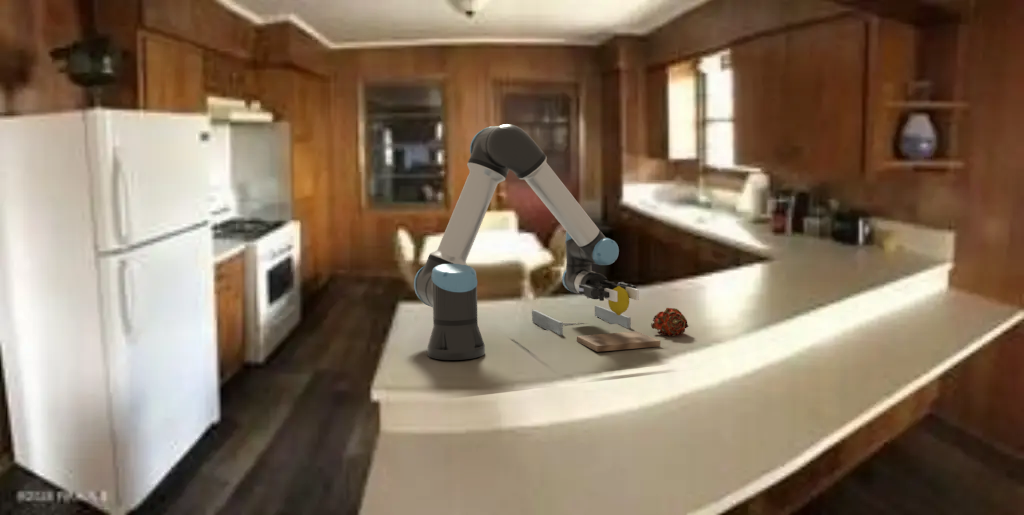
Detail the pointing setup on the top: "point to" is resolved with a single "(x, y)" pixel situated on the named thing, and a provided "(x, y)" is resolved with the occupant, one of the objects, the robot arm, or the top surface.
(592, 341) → the board
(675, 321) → the dragon fruit
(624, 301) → the lemon
